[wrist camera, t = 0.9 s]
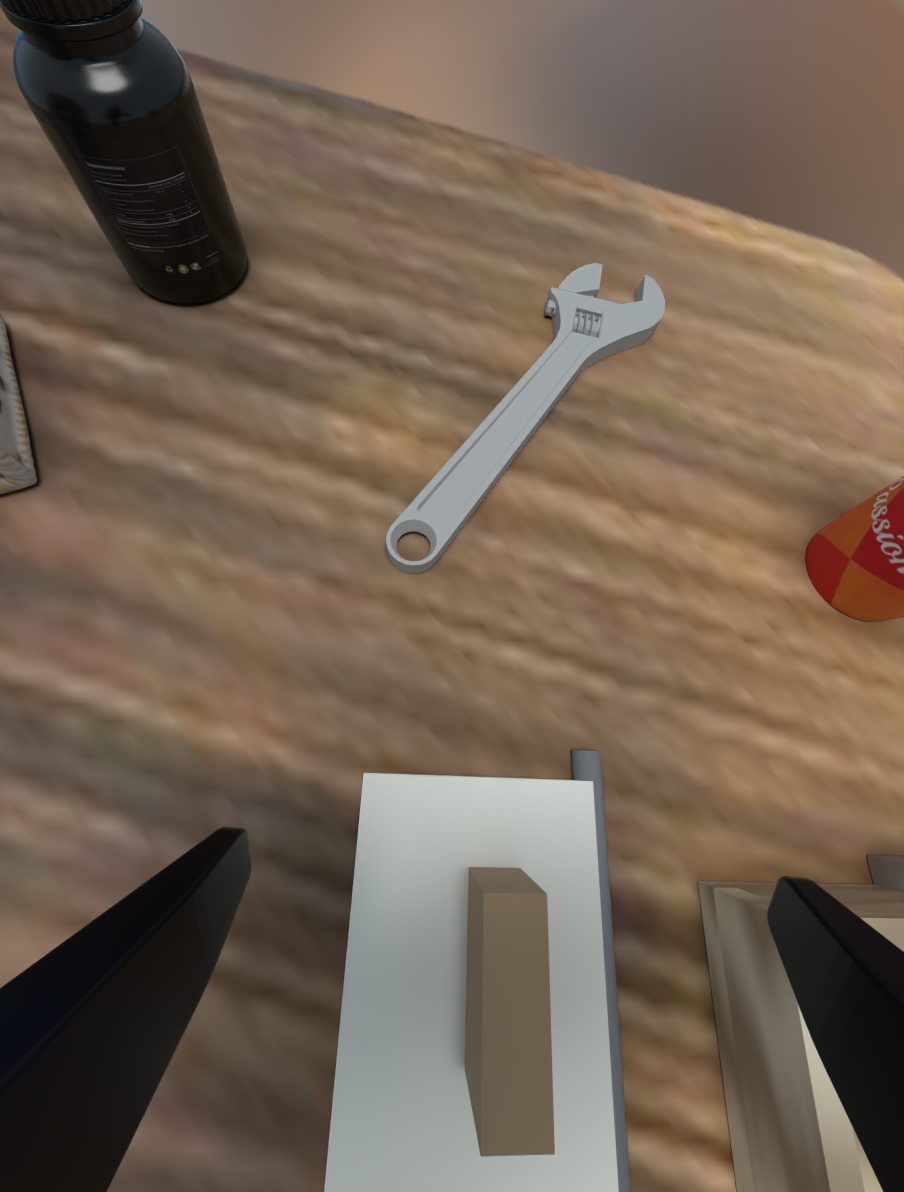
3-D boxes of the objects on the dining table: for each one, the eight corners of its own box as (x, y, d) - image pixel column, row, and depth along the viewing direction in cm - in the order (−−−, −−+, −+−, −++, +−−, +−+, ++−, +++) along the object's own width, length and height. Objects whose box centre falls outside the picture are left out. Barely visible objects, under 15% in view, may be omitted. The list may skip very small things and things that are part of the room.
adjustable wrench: (419, 590, 23) (419, 576, 21) (323, 512, 23) (317, 494, 22) (666, 321, 30) (681, 295, 29) (586, 270, 31) (596, 243, 29)
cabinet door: (369, 742, 20) (357, 737, 15) (593, 751, 21) (646, 749, 16) (324, 1222, 15) (288, 1426, 10) (623, 1211, 16) (712, 1397, 11)
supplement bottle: (121, 236, 28) (-74, -120, 16) (237, 222, 29) (130, -118, 18) (138, 319, 26) (-71, -22, 14) (261, 299, 27) (158, -28, 16)
